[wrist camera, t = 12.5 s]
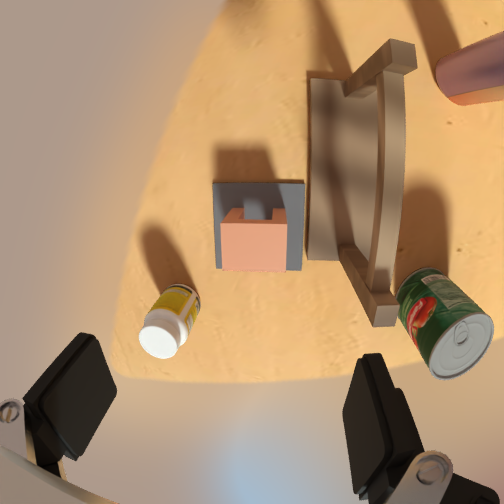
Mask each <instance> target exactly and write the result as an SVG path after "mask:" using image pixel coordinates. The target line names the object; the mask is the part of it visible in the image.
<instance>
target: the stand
mask: <svg viewBox="0 0 504 504" xmlns="http://www.w3.org/2000/svg"><path fill="white" fill-rule="evenodd" d="M415 69H417V59H416V51H415V44H411V43H407V42H403V41H399V40H395V39H389V40H388V41H387V42H386V43H384V44H383V45H382V46H381V47H380V48H379V49H378V50H377V51H376V52H375V53H374V54H373V55H372V56H371V57H370V58H369V59H368V60H367V61H366V62H365V63H364V64H363V65H362V66H361V67H359V68H358V69H357V70H356V71H355V72H354V73H353V74H352V75H351V76H350V77H349V78H348V79H347V80H346V81H342V80H331V79H319V78H311V79H310V191H309V219H308V240H307V259H308V260H329V261H340V262H341V264H342V266H343V268H344V270H345V272H346V274H347V276H348V278H349V280H350V282H351V284H352V286H353V288H354V290H355V292H356V294H357V296H358V298H359V300H360V302H361V304H362V306H363V308H364V310H365V312H366V314H367V316H368V318H369V320H370V322H371V325H372V327H390V326H395V323H396V319H397V315H398V311H399V307H400V304H399V303H398V302H397V300H396V299H395V297H394V296H393V294H392V293H391V292H390V286H391V280H392V275H393V269H394V263H395V257H396V251H397V244H398V237H399V229H400V221H401V211H402V201H403V189H404V173H405V145H406V119H405V92H404V77H403V76H404V75H406V74H407V73H409V72H411V71H413V70H415ZM368 261H369V262H368Z"/></svg>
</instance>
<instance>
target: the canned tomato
mask: <svg viewBox="0 0 504 504" xmlns="http://www.w3.org/2000/svg"><path fill="white" fill-rule="evenodd" d="M395 299H396V300H397V302H398V303H399V304H400V307H399V311H398V315H397V316H398V318H399V319H400V320H401V322H402V324H403V326H404V327H405V329H406V330H407V332H408V334H409V335H410V337H411V339H412V340H413V342H414V344H415V345H416V347H417V349H418V350H419V352H420V354H421V356H422V357H423V359H424V361H425V363H426V364H427V366H428V367H429V370H430V372H431V374H432V375H433V376H434V377H435V378H437V379H439V380H450V379H454V378H456V377H459V376H461V375H463V374H464V373H466V372H467V371H469V370H470V369H471V368H473V367H474V366H475V365H476V364H477V363H478V362H479V361H480V359H481V358H482V357H483V356H484V354H485V353H486V351H487V349H488V348H489V346H490V344H491V341H492V338H493V333H494V325H493V321H492V319H491V317H490V316H488V315H487V314H486V313H485V312H484V311H483V310H482V309H481V308H480V307H479V306H478V305H477V304H476V303H475V302H474V301H473V300H472V299H470V297H468V296H467V295H466V294H465V293H464V292H463V291H462V290H461V289H460V288H459V287H458V286H456V284H454V283H453V282H452V281H451V280H450V279H449V278H448V277H446V276H445V275H444V274H443V273H442V272H441V271H440V270H438V269H436V268H431V267H428V268H422V269H419V270H417V271H415V272H413V273H412V274H411V275H409V276H408V277H407V278H406V279H405V280H404V281H403V283H402V284H401V285H400V287H399V289H398V291H397V293H396V297H395Z"/></svg>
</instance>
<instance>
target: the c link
mask: <svg viewBox="0 0 504 504" xmlns="http://www.w3.org/2000/svg"><path fill="white" fill-rule="evenodd" d="M220 227H221V252H222V271H254V272H286V252H287V218H286V210H285V209H284V208H273V215H272V220H253V219H245V208H232V209H231V210H230V212H229V213H228V214H227V215H226V217H225V218H224V219H223V221H222V222H221V223H220Z"/></svg>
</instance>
